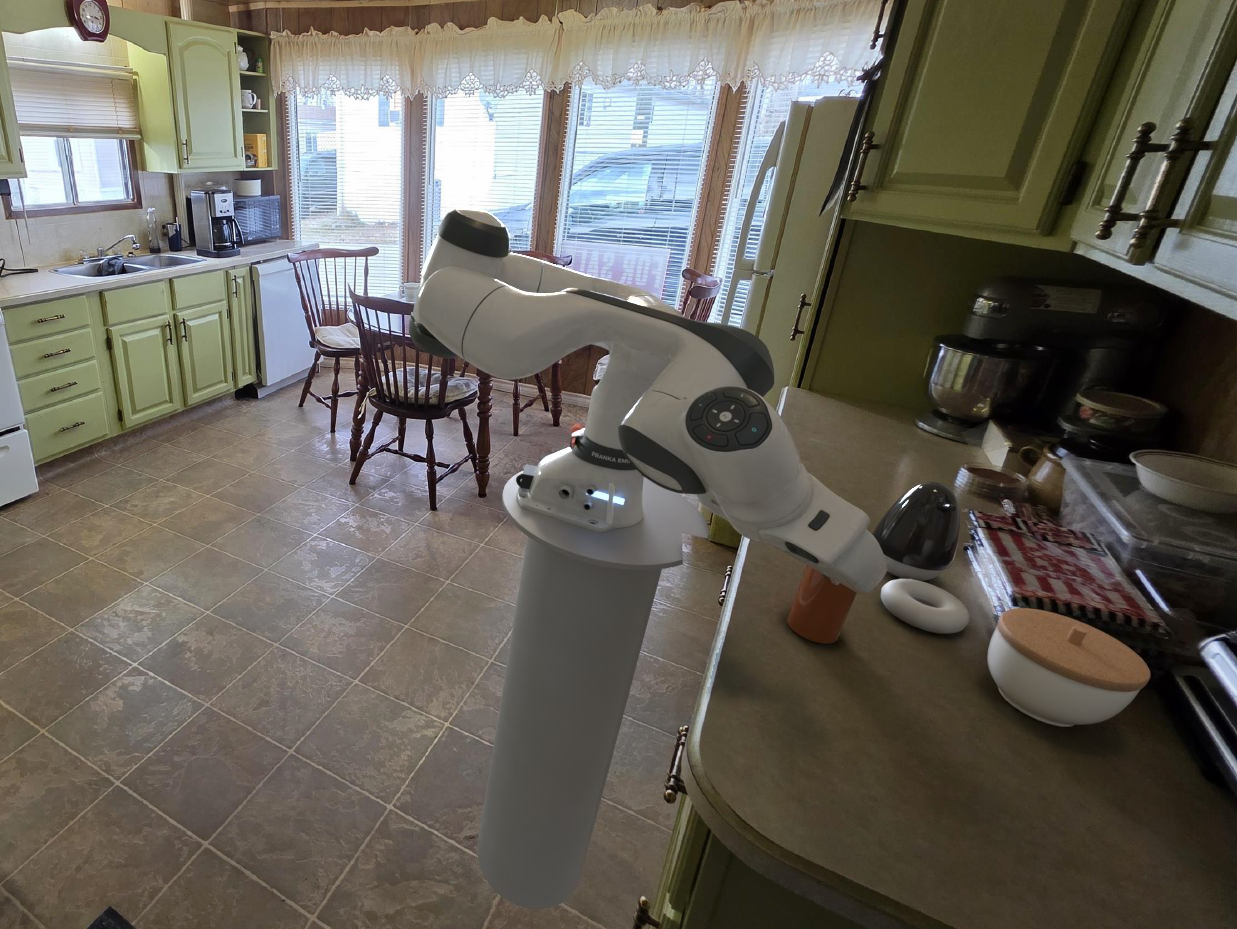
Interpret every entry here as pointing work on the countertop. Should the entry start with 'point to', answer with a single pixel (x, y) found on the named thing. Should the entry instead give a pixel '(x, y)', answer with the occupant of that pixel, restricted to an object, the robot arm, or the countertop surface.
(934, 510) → the glossy black oval piece
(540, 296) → the robot arm
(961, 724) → the countertop surface
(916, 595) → the donut
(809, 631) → the jar
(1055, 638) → the lidded bowl
